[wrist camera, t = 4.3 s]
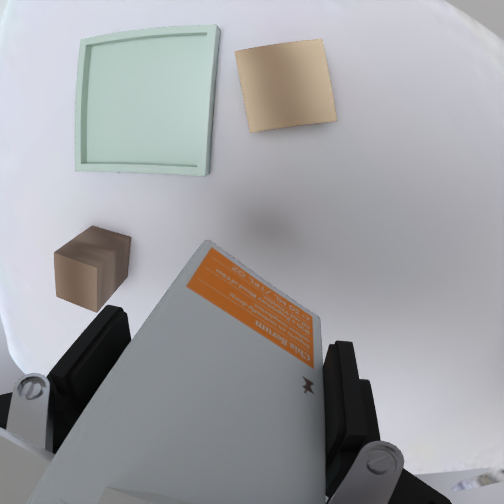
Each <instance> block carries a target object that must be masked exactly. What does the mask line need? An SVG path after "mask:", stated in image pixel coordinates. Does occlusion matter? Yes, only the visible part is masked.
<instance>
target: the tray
mask: <svg viewBox="0 0 504 504" xmlns="http://www.w3.org/2000/svg"><path fill="white" fill-rule="evenodd" d="M219 40H220V29H219V27H218V26H217V25H188V26H171V27H159V28H149V29H140V30H132V31H125V32H118V33H112V34H106V35H101V36H95V37H90V38H85V39H81V41H80V49H79V59H78V70H77V83H76V101H75V171H94V172H134V173H157V174H176V175H192V176H206V175H207V174H209V173H210V157H211V140H212V124H213V110H214V97H215V84H216V73H217V61H218V51H219Z"/></svg>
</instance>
